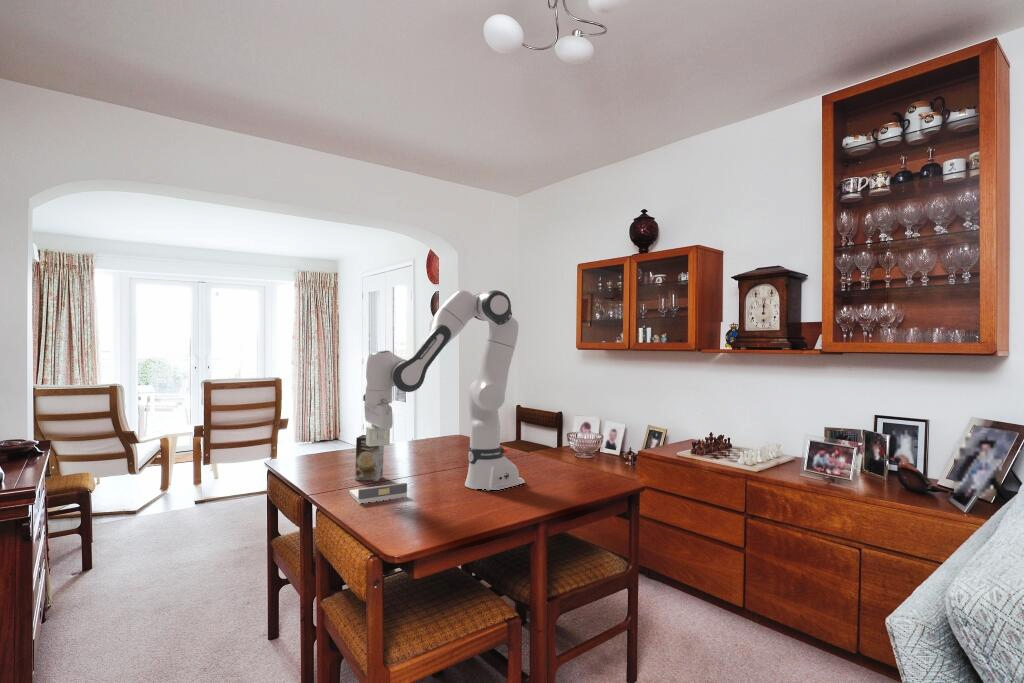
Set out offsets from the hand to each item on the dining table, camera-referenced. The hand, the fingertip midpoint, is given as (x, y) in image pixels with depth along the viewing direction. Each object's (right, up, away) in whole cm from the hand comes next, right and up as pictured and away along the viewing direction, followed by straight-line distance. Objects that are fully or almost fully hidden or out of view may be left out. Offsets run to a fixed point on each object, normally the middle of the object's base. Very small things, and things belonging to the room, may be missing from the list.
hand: (378, 438), depth 174 cm
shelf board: (0, -19, -1) cm, 19 cm away
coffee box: (-9, -19, +20) cm, 29 cm away
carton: (0, -2, 0) cm, 2 cm away
